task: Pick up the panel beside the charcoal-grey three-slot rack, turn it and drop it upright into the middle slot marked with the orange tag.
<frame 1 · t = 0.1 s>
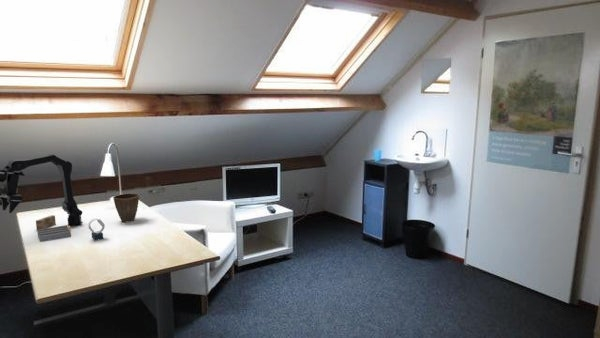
hand: (7, 211, 220), 15 cm above the table, tool pointing down, fingers open, 9 cm apart
plant pot: (127, 221, 257), on the table
panel: (46, 227, 243), on the table
rack: (54, 235, 228), on the table
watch: (97, 238, 223), on the table
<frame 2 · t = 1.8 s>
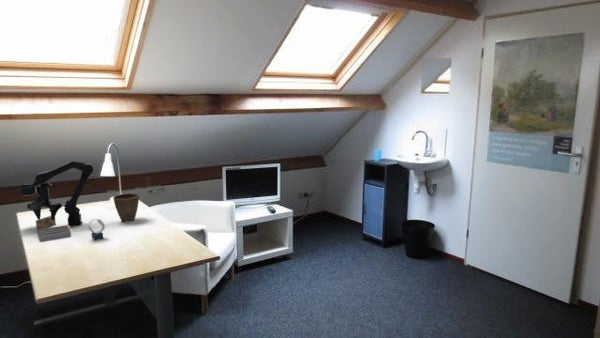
hand: (45, 219, 243), 5 cm above the table, tool pointing down, fingers open, 9 cm apart
nothing on the table moved.
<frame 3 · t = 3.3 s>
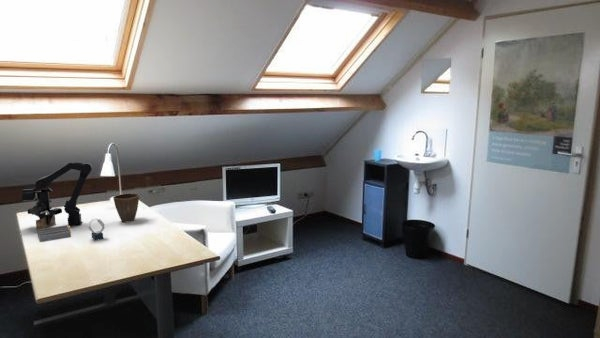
hand: (46, 224, 243), 2 cm above the table, tool pointing down, fingers closed on panel, 2 cm apart
panel: (46, 227, 243), on the table, touching gripper
everything else where it was.
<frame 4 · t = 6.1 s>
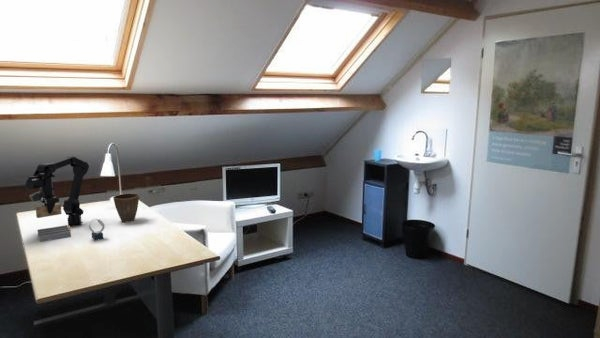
hand: (49, 213, 231), 12 cm above the table, tool pointing down, fingers closed on panel, 2 cm apart
panel: (49, 215, 232), point 10 cm above the table, touching gripper
everything else where it was.
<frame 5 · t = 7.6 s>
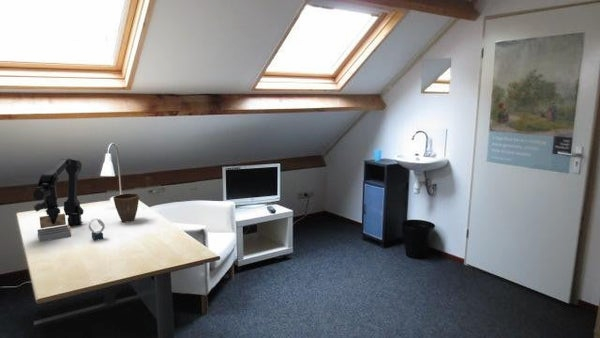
hand: (53, 223, 227), 7 cm above the table, tool pointing down, fingers closed on panel, 2 cm apart
panel: (53, 225, 227), point 5 cm above the table, touching gripper
everything else where it was.
when the fingers open (4 cm above the table, at t = 8.8 s): panel drops 1 cm, resting on rack.
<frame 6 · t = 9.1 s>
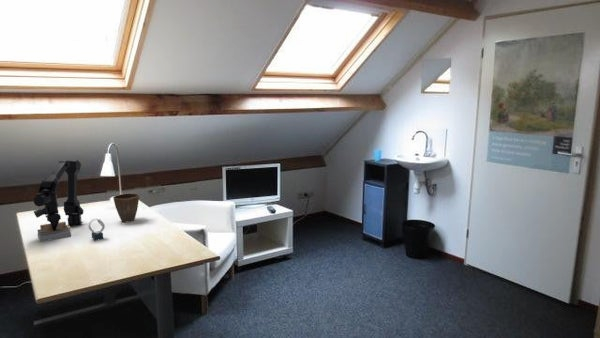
hand: (53, 229, 228), 4 cm above the table, tool pointing down, fingers open, 6 cm apart
panel: (54, 234, 228), point 1 cm above the table, touching rack
everything else where it was.
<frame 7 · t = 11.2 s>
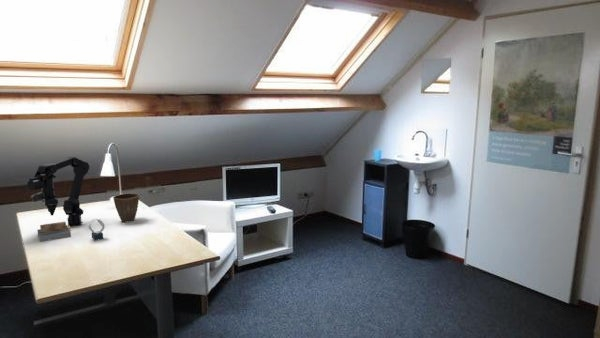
hand: (50, 213, 232), 11 cm above the table, tool pointing down, fingers open, 9 cm apart
nothing on the table moved.
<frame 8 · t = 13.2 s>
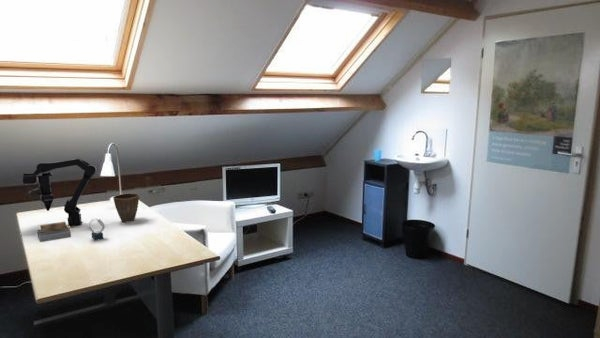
hand: (47, 209, 243), 11 cm above the table, tool pointing down, fingers open, 9 cm apart
nothing on the table moved.
at the end: panel 0.1 cm off-centre on the rack, point 0.8 cm above the rack's base; panel tilted 0°; the gripper is holding nothing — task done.
